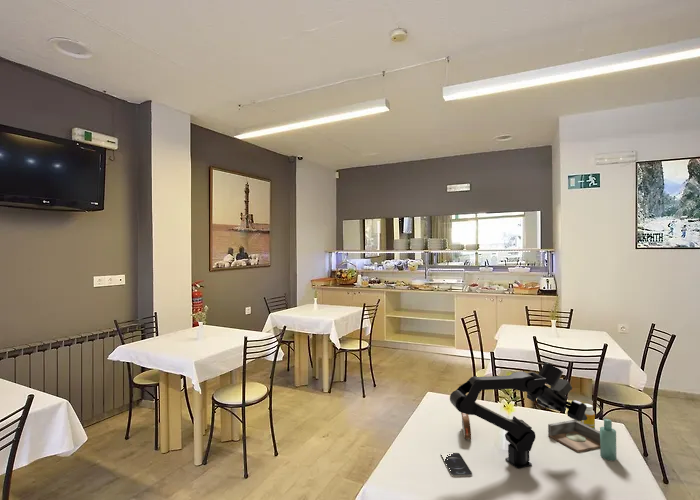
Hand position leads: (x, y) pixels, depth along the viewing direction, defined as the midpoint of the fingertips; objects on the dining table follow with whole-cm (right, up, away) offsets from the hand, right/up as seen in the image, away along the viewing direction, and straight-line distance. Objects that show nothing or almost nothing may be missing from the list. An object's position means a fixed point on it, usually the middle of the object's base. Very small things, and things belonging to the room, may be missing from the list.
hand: (575, 414), depth 145 cm
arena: (+6, -15, +10) cm, 19 cm away
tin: (-36, -16, +17) cm, 43 cm away
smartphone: (-46, -16, -6) cm, 49 cm away
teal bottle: (+11, -15, -2) cm, 19 cm away
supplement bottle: (+18, -15, +22) cm, 33 cm away
